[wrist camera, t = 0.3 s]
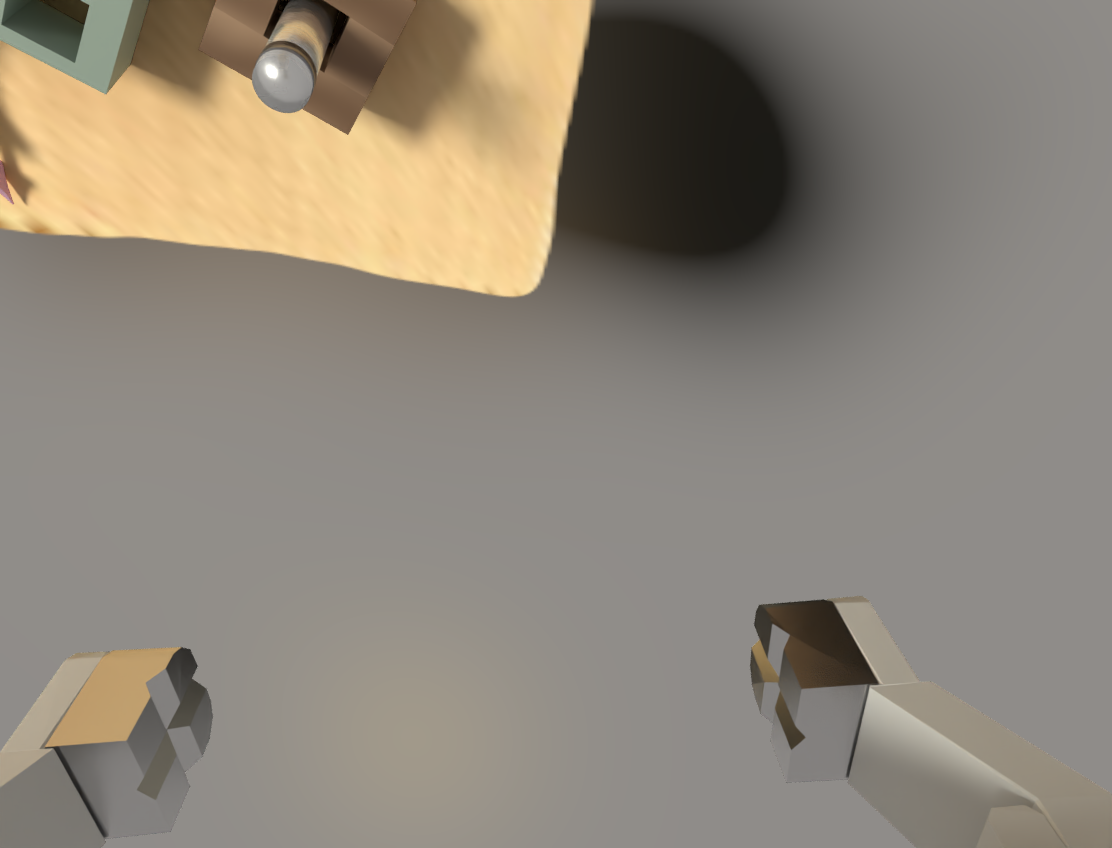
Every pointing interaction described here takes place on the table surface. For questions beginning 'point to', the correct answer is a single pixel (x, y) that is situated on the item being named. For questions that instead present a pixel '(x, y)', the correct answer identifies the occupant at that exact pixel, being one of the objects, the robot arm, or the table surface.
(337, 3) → the socket block
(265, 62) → the metal cylinder rod
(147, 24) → the table surface
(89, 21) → the drill rack
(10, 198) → the decorative key
